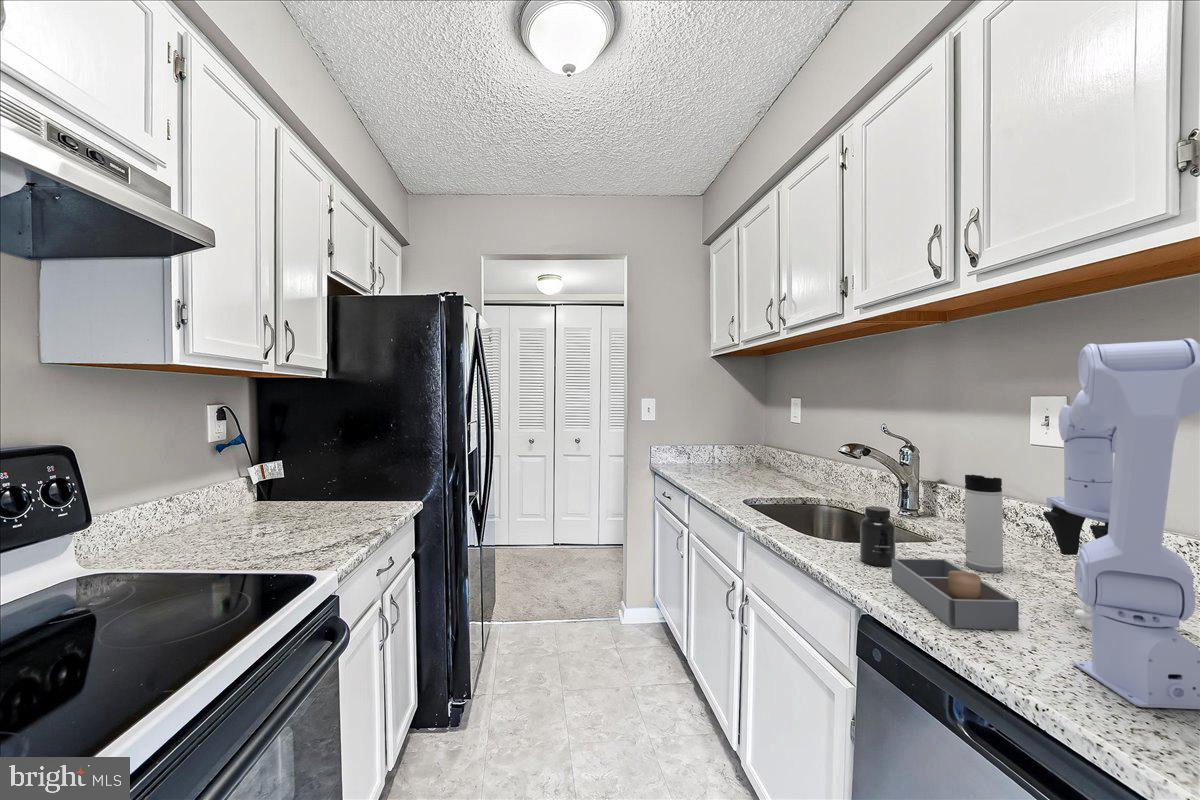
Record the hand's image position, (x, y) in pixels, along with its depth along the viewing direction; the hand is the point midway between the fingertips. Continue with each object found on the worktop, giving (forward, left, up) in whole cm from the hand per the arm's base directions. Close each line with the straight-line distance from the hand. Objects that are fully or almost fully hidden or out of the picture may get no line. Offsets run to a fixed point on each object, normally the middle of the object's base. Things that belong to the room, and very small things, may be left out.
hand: (1088, 562), depth 81 cm
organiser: (+6, +19, -10) cm, 22 cm away
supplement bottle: (+27, +22, -10) cm, 36 cm away
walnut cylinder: (+1, +19, -9) cm, 21 cm away
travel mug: (+24, +2, -10) cm, 26 cm away
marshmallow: (-3, +2, -10) cm, 10 cm away
